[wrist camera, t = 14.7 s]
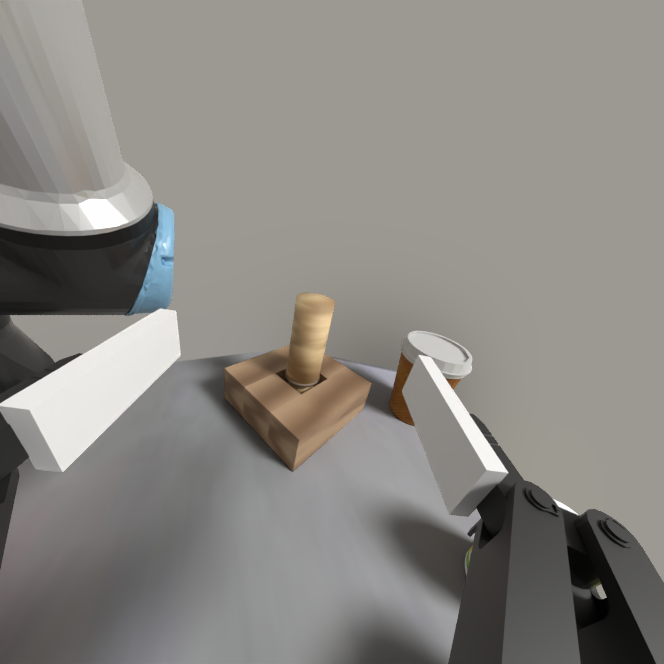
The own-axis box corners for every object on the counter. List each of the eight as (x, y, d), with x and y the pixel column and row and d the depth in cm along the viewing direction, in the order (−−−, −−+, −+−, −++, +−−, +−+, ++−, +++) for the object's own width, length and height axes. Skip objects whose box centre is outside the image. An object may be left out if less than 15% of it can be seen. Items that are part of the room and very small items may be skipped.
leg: (274, 402, 33) (287, 294, 26) (298, 389, 37) (315, 290, 30) (296, 422, 31) (316, 309, 24) (319, 406, 34) (343, 303, 27)
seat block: (224, 397, 32) (224, 368, 30) (299, 363, 43) (303, 339, 40) (292, 471, 25) (299, 439, 23) (363, 409, 35) (371, 383, 33)
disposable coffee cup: (426, 448, 31) (466, 376, 26) (368, 405, 37) (391, 338, 31) (447, 414, 38) (483, 352, 33) (396, 382, 43) (420, 324, 38)
